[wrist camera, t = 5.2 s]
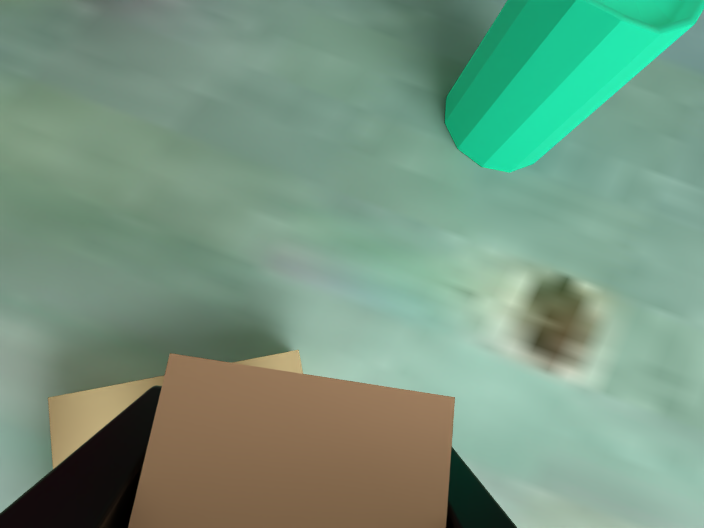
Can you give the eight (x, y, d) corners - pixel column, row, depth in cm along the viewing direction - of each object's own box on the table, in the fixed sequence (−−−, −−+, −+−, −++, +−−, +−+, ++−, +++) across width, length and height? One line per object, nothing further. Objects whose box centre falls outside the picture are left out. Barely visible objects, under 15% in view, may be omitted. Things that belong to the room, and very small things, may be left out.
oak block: (90, 652, 19) (68, 687, 16) (70, 399, 21) (47, 397, 18) (333, 579, 21) (344, 600, 19) (292, 356, 23) (298, 349, 21)
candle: (533, 190, 27) (739, 31, 16) (428, 142, 27) (563, -57, 15) (559, 100, 29) (759, -99, 18) (462, 54, 29) (603, -180, 17)
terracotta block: (323, 555, 15) (431, 737, 6) (178, 540, 14) (81, 719, 6) (343, 409, 16) (454, 397, 8) (210, 390, 15) (169, 353, 7)
